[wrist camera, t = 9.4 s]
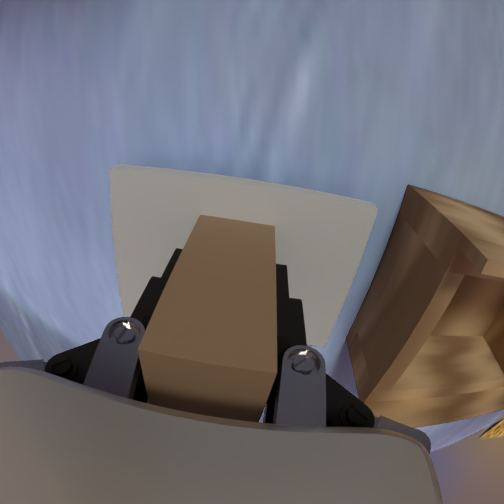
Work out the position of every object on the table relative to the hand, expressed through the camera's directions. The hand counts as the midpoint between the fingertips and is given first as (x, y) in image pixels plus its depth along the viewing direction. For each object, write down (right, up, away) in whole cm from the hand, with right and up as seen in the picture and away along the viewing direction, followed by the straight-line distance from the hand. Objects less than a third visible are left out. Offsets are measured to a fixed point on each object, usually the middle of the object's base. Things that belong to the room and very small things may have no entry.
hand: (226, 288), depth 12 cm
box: (+13, -1, +3) cm, 14 cm away
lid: (0, +1, +2) cm, 2 cm away
